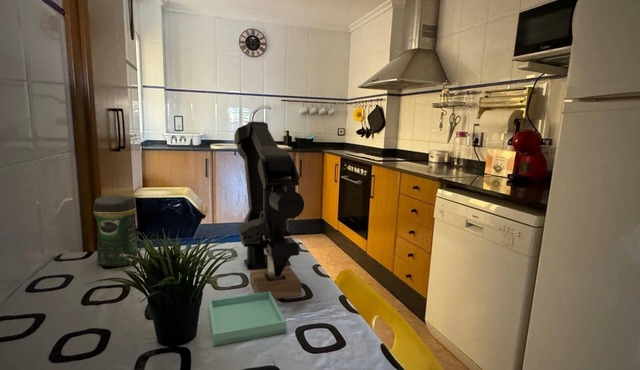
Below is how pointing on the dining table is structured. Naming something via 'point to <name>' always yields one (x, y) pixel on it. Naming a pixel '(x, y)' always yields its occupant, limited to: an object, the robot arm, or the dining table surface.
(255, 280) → the block
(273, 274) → the steel pin
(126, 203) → the coffee jar
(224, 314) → the tray
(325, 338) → the dining table surface
